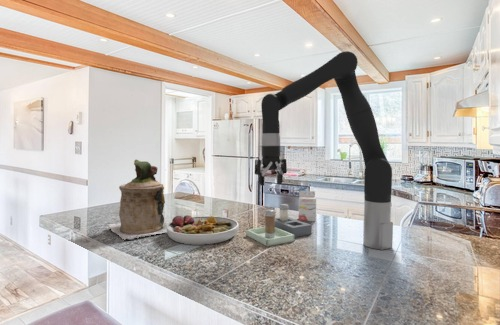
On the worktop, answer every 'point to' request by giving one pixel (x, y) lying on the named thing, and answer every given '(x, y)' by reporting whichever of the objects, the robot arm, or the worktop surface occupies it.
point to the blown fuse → (269, 223)
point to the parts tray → (279, 238)
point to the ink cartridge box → (307, 206)
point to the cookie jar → (141, 205)
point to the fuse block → (294, 226)
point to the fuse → (284, 212)
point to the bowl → (201, 229)
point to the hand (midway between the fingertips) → (271, 184)
